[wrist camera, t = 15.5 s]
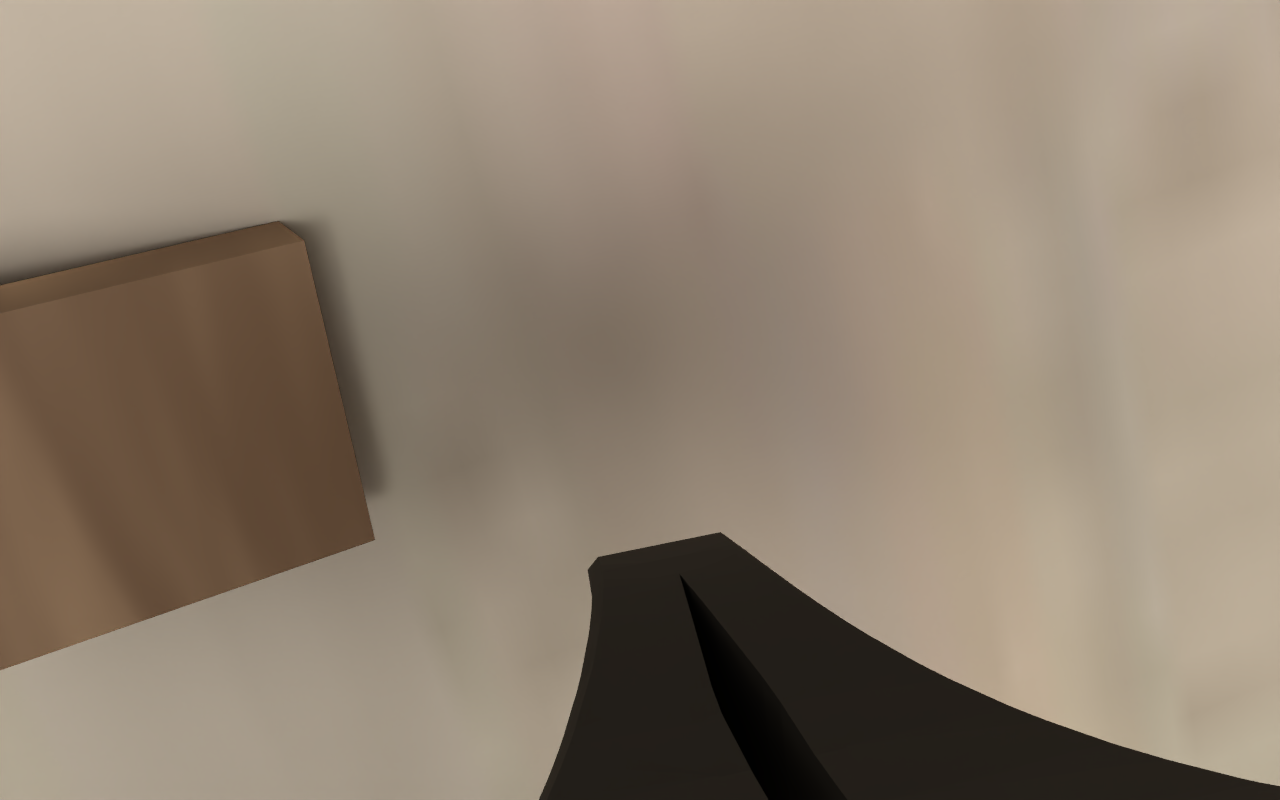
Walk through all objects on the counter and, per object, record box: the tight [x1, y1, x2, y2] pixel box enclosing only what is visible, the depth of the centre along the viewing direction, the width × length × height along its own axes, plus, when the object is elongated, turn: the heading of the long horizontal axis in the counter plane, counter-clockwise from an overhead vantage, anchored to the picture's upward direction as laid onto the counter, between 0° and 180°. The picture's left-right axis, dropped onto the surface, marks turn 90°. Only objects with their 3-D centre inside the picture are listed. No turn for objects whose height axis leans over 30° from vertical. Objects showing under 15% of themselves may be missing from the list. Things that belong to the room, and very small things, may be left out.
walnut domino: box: [0, 221, 375, 670], centre depth 18 cm, size 2×5×8 cm
